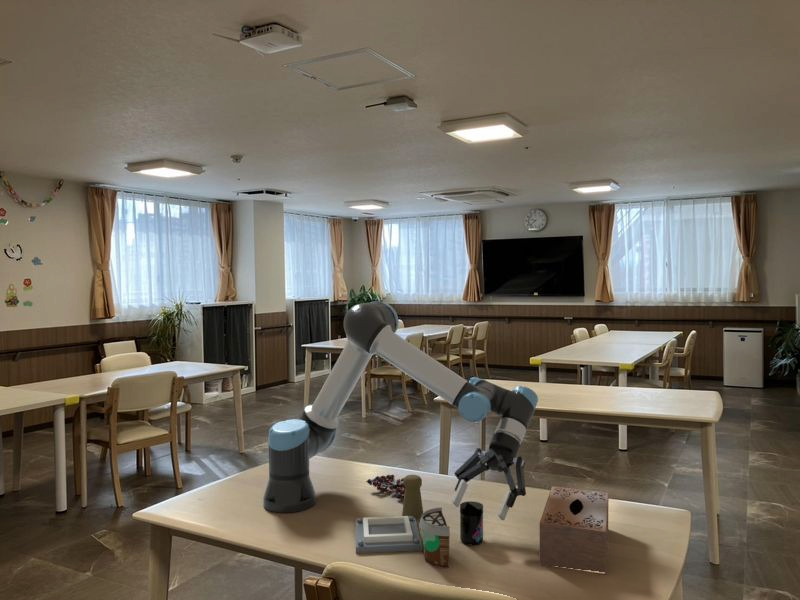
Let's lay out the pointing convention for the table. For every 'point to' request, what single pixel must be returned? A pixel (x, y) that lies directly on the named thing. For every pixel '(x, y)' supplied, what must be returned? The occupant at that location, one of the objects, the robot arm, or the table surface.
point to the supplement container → (471, 523)
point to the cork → (412, 497)
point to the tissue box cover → (574, 529)
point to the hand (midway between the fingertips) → (477, 511)
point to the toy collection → (388, 480)
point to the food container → (435, 538)
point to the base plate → (387, 534)
